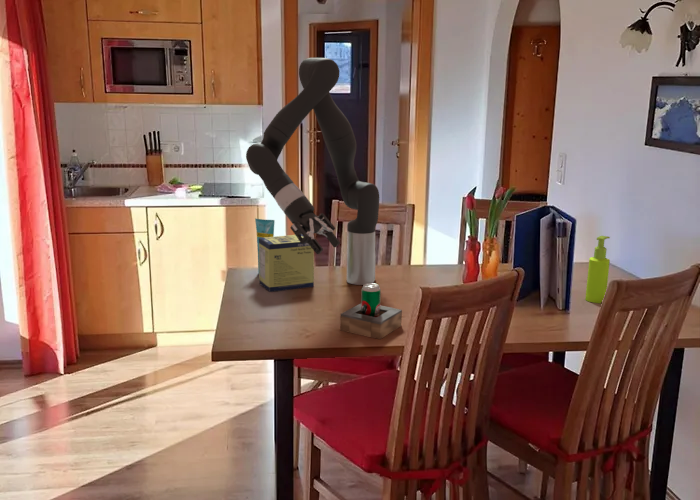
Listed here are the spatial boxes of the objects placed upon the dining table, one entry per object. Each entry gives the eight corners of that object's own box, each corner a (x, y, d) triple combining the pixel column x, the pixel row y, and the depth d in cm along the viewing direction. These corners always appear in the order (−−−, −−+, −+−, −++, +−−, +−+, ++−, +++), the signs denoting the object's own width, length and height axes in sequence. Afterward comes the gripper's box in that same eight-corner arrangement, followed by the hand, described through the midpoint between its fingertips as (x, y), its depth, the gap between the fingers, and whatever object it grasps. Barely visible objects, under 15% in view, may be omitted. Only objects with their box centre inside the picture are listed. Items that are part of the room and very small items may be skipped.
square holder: (363, 317, 192) (363, 302, 191) (401, 325, 186) (402, 309, 185) (340, 330, 182) (340, 313, 181) (380, 339, 176) (380, 322, 175)
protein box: (314, 286, 221) (314, 240, 218) (269, 292, 215) (268, 244, 211) (302, 278, 231) (302, 233, 227) (258, 283, 224) (257, 237, 220)
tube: (253, 274, 234) (251, 219, 230) (259, 271, 239) (257, 217, 234) (273, 276, 232) (272, 221, 228) (278, 272, 237) (277, 218, 232)
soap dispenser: (609, 299, 212) (616, 236, 207) (600, 304, 207) (607, 240, 202) (591, 295, 216) (597, 233, 211) (582, 300, 211) (588, 236, 206)
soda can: (378, 332, 181) (379, 288, 179) (359, 330, 182) (360, 287, 179) (380, 325, 186) (381, 283, 184) (362, 324, 187) (363, 282, 184)
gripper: (286, 199, 182) (322, 246, 179) (316, 191, 194) (350, 235, 191) (271, 216, 186) (306, 262, 183) (301, 207, 198) (335, 251, 195)
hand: (329, 248), depth 187 cm, fingers open, 8 cm apart
